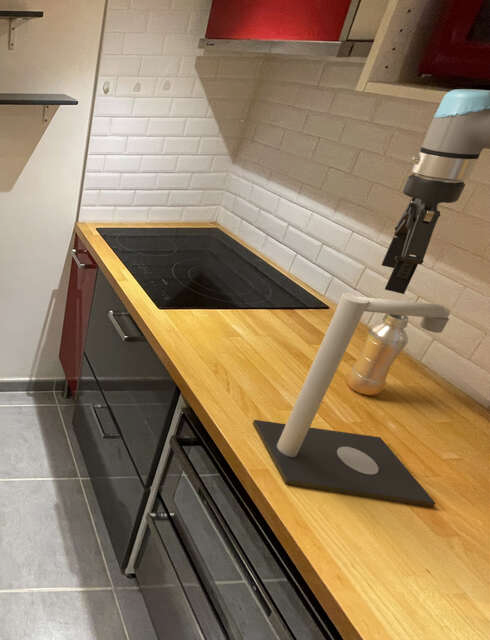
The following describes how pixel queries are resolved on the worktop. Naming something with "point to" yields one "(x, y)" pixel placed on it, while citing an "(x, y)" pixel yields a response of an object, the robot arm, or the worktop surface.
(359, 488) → the tap
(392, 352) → the plastic bottle
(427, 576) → the worktop surface
